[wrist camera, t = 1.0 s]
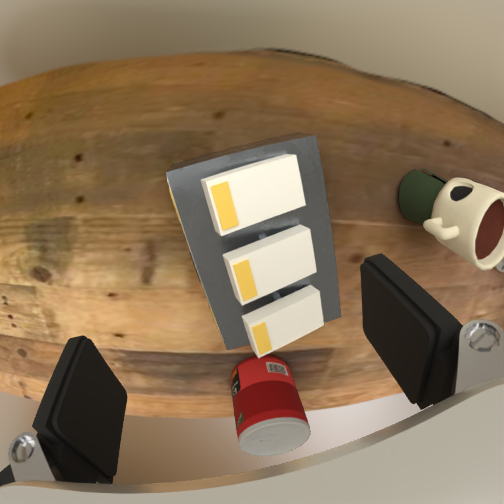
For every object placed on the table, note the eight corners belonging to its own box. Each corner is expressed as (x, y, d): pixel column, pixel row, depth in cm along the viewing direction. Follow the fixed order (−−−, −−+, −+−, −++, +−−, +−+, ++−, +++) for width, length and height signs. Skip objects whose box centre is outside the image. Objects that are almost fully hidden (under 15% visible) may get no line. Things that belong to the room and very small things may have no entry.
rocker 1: (286, 153, 23) (297, 154, 22) (296, 201, 25) (306, 205, 23) (200, 179, 21) (206, 182, 20) (215, 230, 23) (222, 236, 21)
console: (298, 132, 27) (318, 135, 22) (325, 292, 35) (343, 321, 30) (168, 165, 27) (159, 175, 22) (220, 322, 34) (224, 355, 29)
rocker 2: (300, 224, 26) (310, 229, 24) (307, 265, 27) (317, 272, 26) (222, 254, 24) (229, 261, 22) (235, 297, 25) (242, 306, 24)
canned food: (221, 363, 37) (229, 434, 27) (282, 345, 37) (306, 413, 27) (239, 397, 40) (249, 462, 30) (293, 382, 40) (315, 444, 30)
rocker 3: (310, 284, 28) (320, 291, 27) (315, 317, 30) (324, 325, 28) (241, 316, 26) (248, 325, 25) (252, 348, 28) (259, 359, 26)
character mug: (448, 160, 30) (530, 187, 19) (446, 215, 33) (520, 257, 22) (376, 168, 30) (460, 200, 18) (378, 230, 33) (451, 286, 21)
